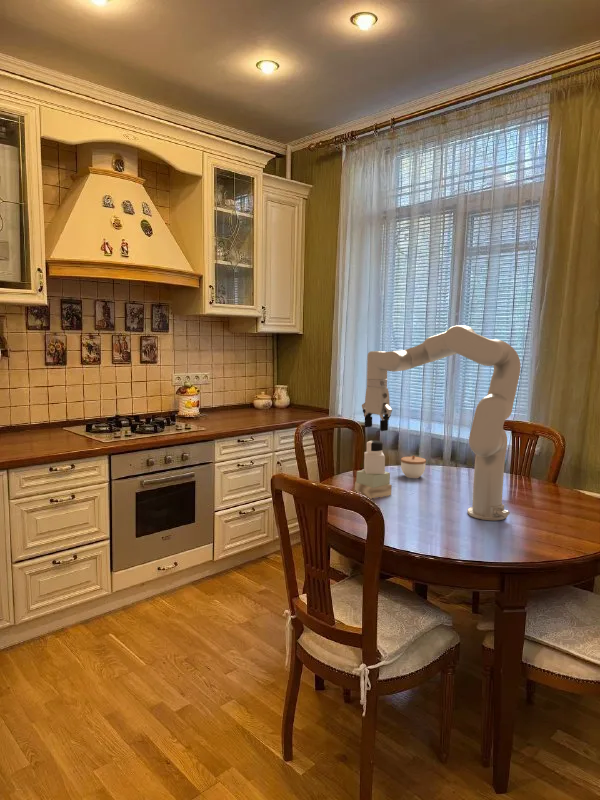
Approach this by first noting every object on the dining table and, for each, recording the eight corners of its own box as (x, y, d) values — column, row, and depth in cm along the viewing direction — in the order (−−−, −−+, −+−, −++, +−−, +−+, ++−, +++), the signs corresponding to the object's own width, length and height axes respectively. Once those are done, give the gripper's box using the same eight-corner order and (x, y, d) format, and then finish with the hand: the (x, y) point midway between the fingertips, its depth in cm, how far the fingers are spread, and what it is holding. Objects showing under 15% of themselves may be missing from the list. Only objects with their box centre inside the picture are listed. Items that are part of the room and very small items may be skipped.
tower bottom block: (391, 496, 213) (391, 485, 212) (370, 500, 208) (370, 488, 207) (375, 490, 221) (375, 478, 221) (354, 493, 216) (354, 481, 216)
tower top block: (389, 484, 213) (390, 472, 213) (372, 487, 208) (373, 476, 207) (372, 479, 220) (373, 468, 220) (356, 482, 215) (356, 471, 214)
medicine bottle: (382, 469, 217) (382, 439, 216) (384, 474, 210) (385, 443, 208) (363, 469, 217) (364, 439, 216) (365, 474, 210) (366, 443, 209)
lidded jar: (409, 472, 250) (409, 451, 249) (429, 476, 242) (431, 455, 241) (395, 476, 242) (396, 455, 241) (416, 481, 235) (417, 459, 234)
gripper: (399, 385, 204) (398, 431, 206) (371, 382, 219) (370, 425, 221) (383, 386, 200) (382, 433, 202) (355, 382, 215) (354, 426, 217)
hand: (375, 428), depth 211 cm, fingers open, 9 cm apart
